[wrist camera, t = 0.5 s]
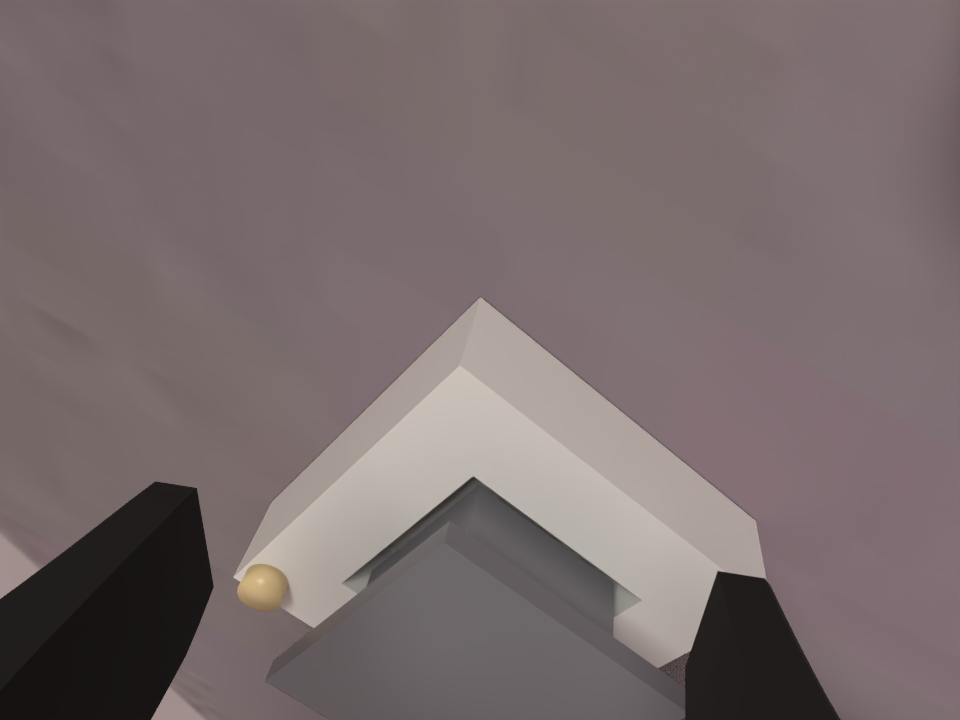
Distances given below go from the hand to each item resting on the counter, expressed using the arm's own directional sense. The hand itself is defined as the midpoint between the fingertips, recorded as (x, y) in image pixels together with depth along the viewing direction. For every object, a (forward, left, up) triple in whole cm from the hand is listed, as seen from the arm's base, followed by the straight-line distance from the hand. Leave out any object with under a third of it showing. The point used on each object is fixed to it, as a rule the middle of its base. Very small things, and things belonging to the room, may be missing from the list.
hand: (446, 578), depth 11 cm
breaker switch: (-5, +6, -7) cm, 11 cm away
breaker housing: (-5, +6, -10) cm, 12 cm away
